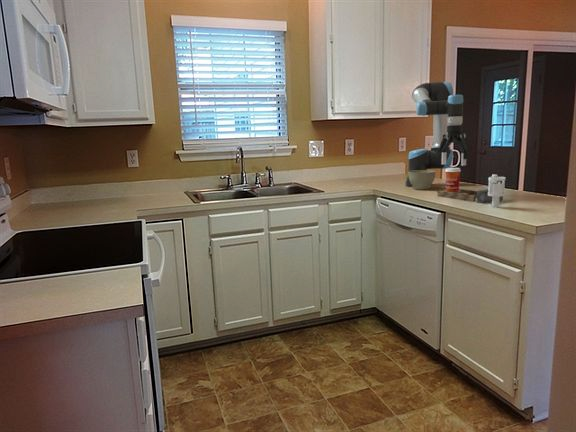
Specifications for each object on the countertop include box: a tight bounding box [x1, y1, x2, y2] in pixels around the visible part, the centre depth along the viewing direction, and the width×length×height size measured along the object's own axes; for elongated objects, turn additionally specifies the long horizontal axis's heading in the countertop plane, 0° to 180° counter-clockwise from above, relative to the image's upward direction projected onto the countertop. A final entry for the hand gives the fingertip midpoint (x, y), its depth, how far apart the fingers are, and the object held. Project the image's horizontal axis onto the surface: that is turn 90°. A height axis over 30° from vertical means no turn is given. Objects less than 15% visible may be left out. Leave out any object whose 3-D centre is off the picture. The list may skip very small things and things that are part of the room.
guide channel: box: [437, 188, 504, 205], centre depth 225 cm, size 30×14×6 cm, turn 26°
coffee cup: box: [444, 167, 462, 193], centre depth 234 cm, size 8×8×15 cm
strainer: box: [487, 174, 506, 208], centre depth 199 cm, size 7×7×15 cm
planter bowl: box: [407, 169, 437, 191], centre depth 263 cm, size 16×16×11 cm
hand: (453, 164), depth 232 cm, fingers open, 13 cm apart
